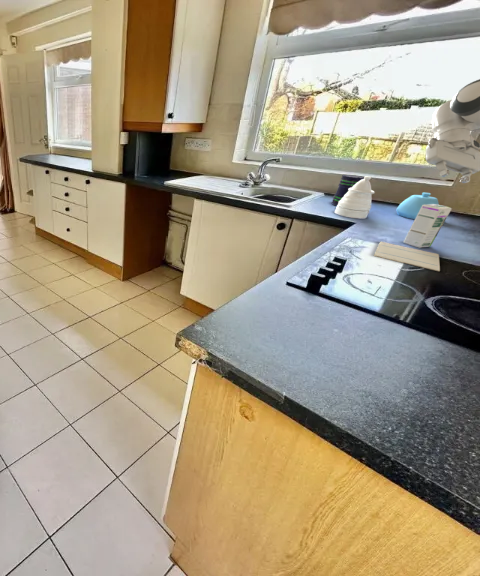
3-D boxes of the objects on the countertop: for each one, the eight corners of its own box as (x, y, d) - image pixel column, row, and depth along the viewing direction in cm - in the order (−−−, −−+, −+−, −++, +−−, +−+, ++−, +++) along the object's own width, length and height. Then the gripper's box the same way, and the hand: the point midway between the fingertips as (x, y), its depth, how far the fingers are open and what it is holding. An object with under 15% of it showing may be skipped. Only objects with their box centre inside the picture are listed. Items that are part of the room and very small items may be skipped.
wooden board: (438, 254, 108) (438, 254, 108) (439, 271, 95) (440, 270, 95) (380, 242, 118) (380, 241, 118) (373, 255, 105) (374, 254, 105)
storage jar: (326, 202, 176) (337, 174, 169) (341, 202, 178) (353, 174, 170) (341, 207, 167) (354, 177, 160) (357, 207, 169) (370, 178, 162)
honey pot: (369, 220, 146) (388, 179, 137) (336, 215, 150) (353, 176, 142) (362, 213, 156) (380, 175, 147) (332, 209, 161) (347, 172, 152)
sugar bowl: (415, 213, 162) (428, 190, 156) (443, 222, 149) (458, 197, 143) (386, 212, 162) (398, 188, 156) (411, 220, 149) (425, 195, 143)
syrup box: (419, 248, 114) (442, 208, 107) (401, 242, 119) (422, 203, 112) (430, 247, 115) (453, 207, 108) (412, 241, 120) (433, 203, 113)
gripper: (440, 130, 108) (443, 166, 105) (485, 146, 112) (489, 181, 109) (418, 142, 114) (420, 176, 111) (461, 156, 118) (465, 189, 115)
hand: (455, 178), depth 110 cm, fingers open, 8 cm apart
